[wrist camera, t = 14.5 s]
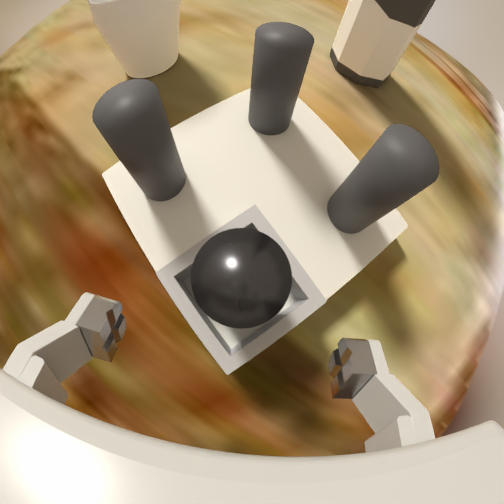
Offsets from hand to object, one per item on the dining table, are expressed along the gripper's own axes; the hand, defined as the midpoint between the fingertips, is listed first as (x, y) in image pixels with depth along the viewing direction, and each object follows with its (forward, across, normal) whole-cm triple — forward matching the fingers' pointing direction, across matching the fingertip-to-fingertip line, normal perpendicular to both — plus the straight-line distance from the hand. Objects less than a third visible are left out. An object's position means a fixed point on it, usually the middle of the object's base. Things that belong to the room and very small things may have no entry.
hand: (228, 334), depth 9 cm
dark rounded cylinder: (+8, 0, +5) cm, 9 cm away
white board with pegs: (+14, 0, +1) cm, 14 cm away
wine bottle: (+30, -10, -14) cm, 35 cm away
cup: (+27, +15, -10) cm, 32 cm away
